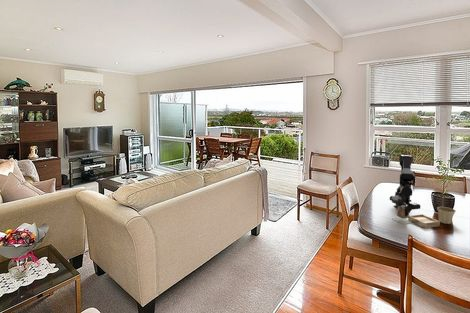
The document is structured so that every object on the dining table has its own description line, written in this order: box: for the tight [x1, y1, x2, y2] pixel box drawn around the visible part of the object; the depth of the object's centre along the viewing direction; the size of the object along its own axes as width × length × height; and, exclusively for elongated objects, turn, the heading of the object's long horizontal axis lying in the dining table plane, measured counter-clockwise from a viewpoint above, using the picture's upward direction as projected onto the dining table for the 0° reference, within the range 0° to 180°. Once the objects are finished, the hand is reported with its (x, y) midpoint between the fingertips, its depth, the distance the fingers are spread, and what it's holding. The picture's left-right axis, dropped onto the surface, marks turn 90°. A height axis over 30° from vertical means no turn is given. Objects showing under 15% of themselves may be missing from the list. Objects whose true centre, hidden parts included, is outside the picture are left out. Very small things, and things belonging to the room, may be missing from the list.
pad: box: [392, 217, 414, 225], centre depth 172 cm, size 8×8×1 cm
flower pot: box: [436, 206, 457, 225], centre depth 168 cm, size 9×9×9 cm
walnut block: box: [396, 205, 410, 219], centre depth 171 cm, size 4×4×7 cm
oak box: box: [407, 213, 441, 229], centre depth 168 cm, size 12×11×3 cm
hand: (403, 214), depth 171 cm, fingers closed on walnut block, 4 cm apart
